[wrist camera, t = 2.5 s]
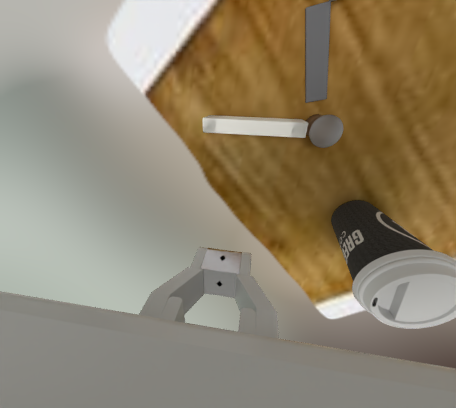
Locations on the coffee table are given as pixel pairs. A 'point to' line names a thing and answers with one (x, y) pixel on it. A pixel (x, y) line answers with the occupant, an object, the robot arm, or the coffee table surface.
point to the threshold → (317, 50)
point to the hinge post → (324, 130)
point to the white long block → (255, 126)
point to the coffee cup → (394, 269)
